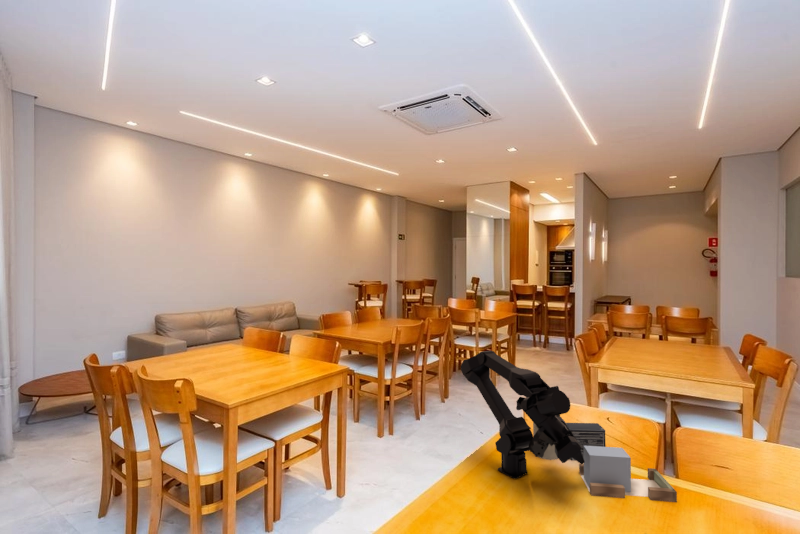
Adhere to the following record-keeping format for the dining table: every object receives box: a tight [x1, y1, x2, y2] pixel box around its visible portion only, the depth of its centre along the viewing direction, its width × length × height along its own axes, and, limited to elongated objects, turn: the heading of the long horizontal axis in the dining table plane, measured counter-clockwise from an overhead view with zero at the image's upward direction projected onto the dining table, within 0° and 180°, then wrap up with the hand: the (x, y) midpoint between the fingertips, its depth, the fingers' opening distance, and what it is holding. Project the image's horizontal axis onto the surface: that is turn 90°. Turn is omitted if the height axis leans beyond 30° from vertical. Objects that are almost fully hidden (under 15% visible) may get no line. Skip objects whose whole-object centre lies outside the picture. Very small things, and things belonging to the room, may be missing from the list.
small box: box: [566, 422, 607, 462], centre depth 129 cm, size 11×6×10 cm, turn 84°
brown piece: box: [578, 463, 678, 503], centre depth 111 cm, size 20×22×4 cm
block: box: [583, 446, 632, 492], centre depth 112 cm, size 10×6×9 cm, turn 80°
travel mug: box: [532, 414, 561, 461], centre depth 131 cm, size 8×8×18 cm
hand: (583, 462), depth 111 cm, fingers closed
